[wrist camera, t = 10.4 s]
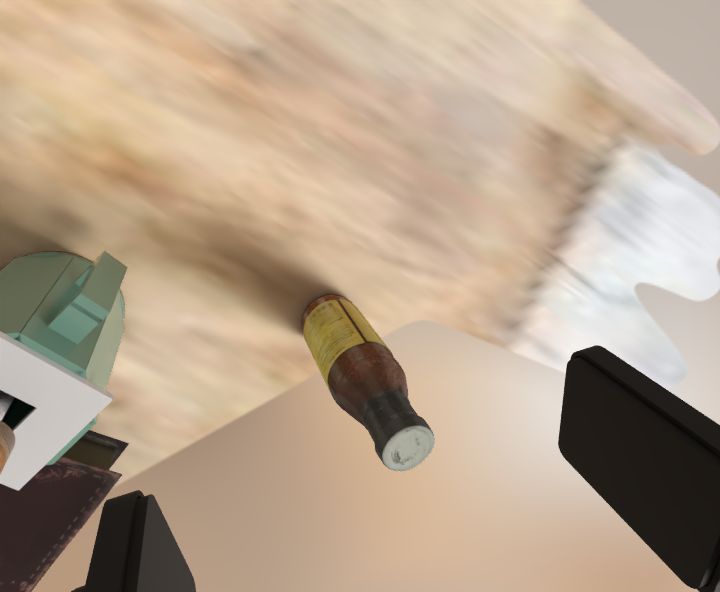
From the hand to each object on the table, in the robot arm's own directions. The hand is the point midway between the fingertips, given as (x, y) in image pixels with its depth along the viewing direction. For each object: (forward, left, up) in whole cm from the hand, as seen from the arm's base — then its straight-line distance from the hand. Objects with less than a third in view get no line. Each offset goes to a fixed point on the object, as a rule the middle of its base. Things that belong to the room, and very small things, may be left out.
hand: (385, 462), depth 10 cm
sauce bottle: (+16, +5, -34) cm, 38 cm away
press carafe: (+7, -17, -34) cm, 39 cm away
